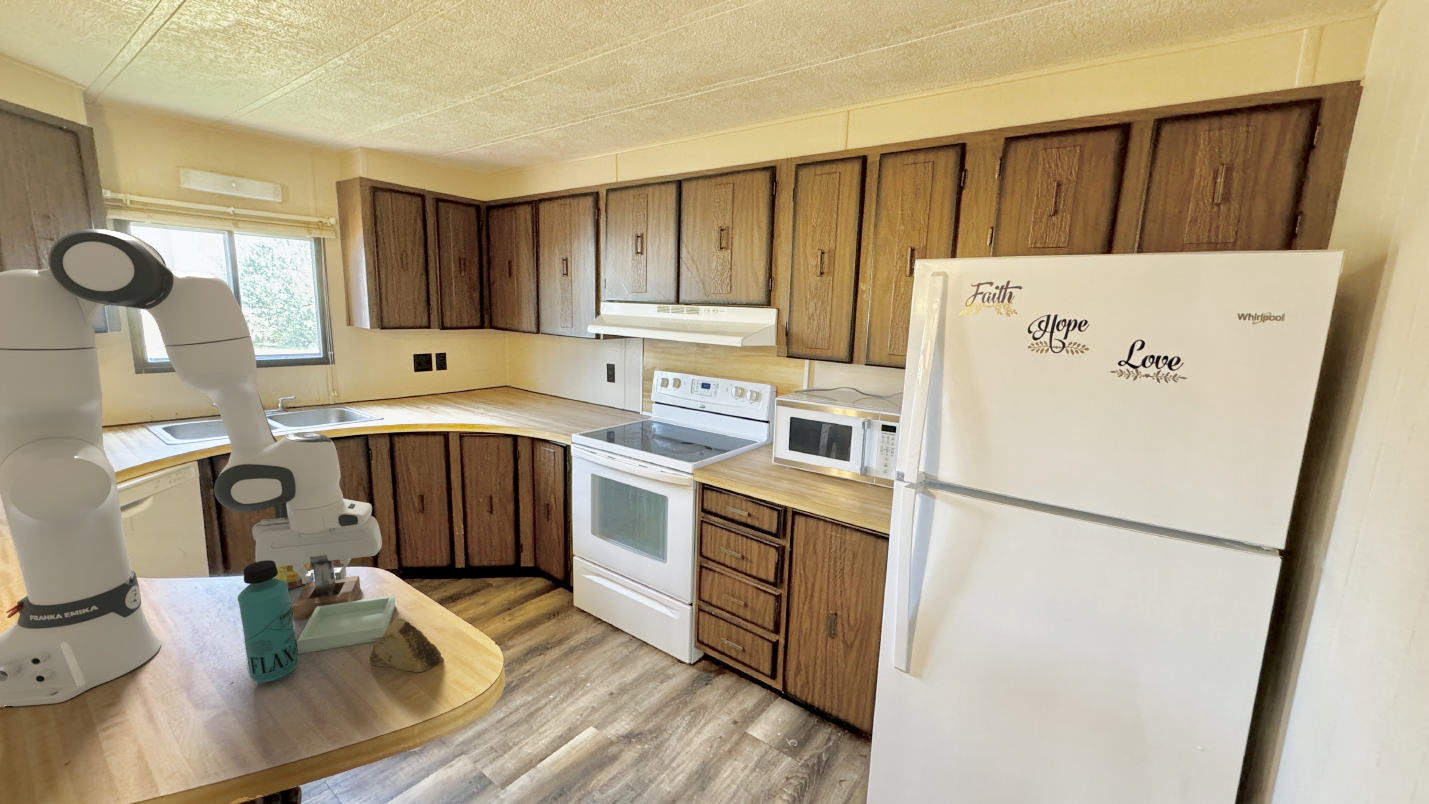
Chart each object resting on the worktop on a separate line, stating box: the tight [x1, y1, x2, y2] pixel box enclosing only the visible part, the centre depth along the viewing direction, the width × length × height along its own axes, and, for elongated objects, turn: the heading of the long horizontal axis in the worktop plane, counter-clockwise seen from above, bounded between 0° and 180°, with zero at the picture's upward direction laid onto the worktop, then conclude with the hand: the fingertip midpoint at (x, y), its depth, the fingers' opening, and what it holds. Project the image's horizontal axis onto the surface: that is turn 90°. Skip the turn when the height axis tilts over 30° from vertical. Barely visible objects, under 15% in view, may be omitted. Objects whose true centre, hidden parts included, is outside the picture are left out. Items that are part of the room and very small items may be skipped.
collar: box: [291, 575, 361, 621], centre depth 110 cm, size 9×9×3 cm
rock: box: [369, 617, 444, 673], centre depth 94 cm, size 11×9×10 cm
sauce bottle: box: [273, 503, 312, 590], centre depth 115 cm, size 6×6×20 cm
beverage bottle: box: [237, 560, 300, 683], centre depth 88 cm, size 6×7×20 cm
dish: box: [296, 595, 396, 655], centre depth 102 cm, size 13×11×2 cm
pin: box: [310, 555, 337, 598], centre depth 109 cm, size 5×5×11 cm
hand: (325, 580), depth 109 cm, fingers closed on pin, 4 cm apart
